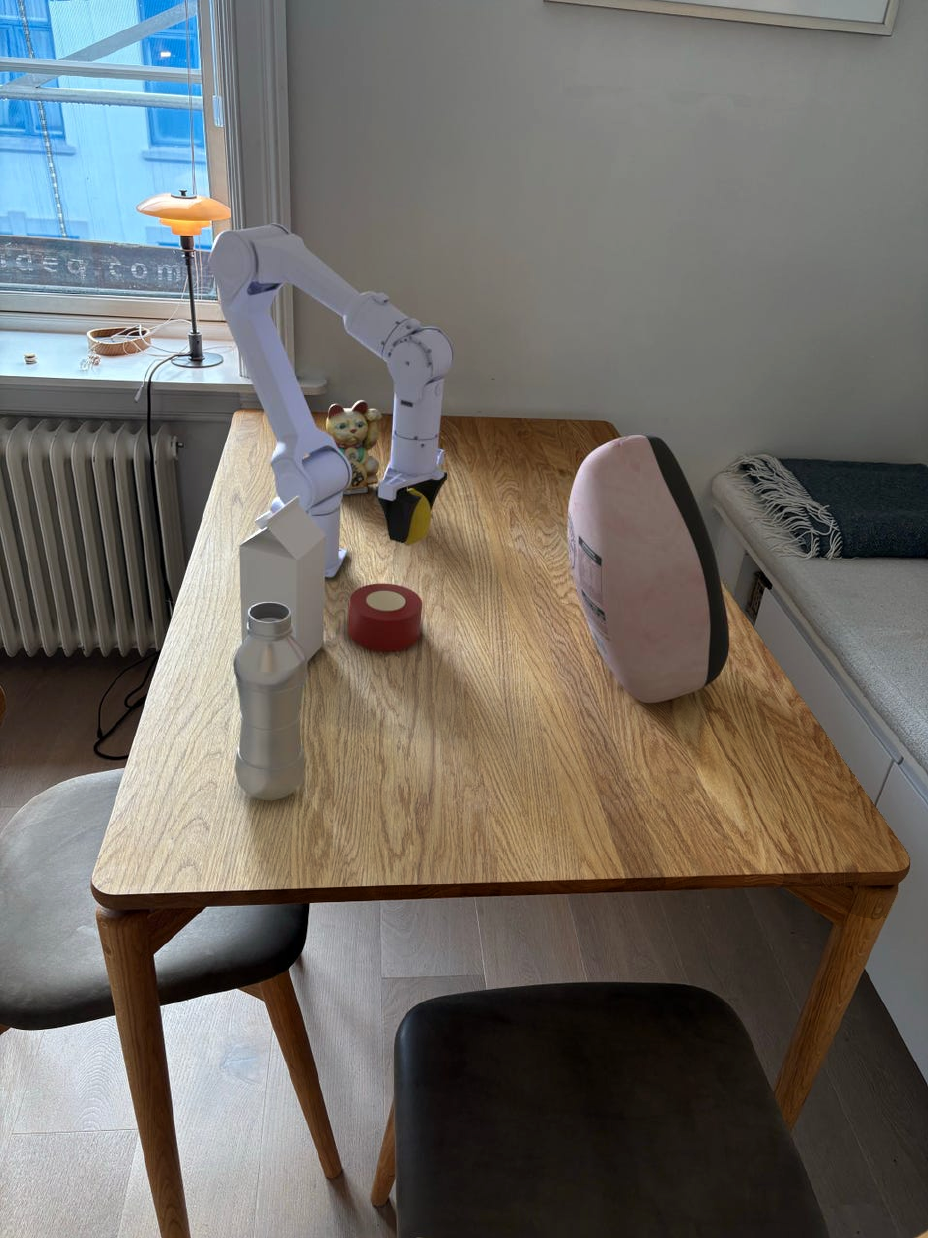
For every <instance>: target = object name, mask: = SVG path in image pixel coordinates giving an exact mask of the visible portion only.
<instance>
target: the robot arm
mask: <svg viewBox="0 0 928 1238" xmlns="http://www.w3.org/2000/svg"><path fill="white" fill-rule="evenodd" d="M207 264H208V267H209V268H210V271H211V273H212V276H213V278H214V281H215V283H216V285H217V288H218V293H219V301H220V308H221V312H222V315H223V317H224V320H225V323H226V324H227V326H228V329H229V331H230V334H231V337H232V339H233V341H234V343H235V345H236V348H237V350H238V352H239V355H240V357H241V359H242V362H243V364H244V367H245V369H246V371H247V374H248V376H249V378H250V380H251V383H252V386H253V388H254V390H255V393H256V395H257V397H258V400H259V402H260V405H261V407H262V409H263V411H264V414H265V416H266V418H267V421H268V424H269V425H270V428H271V430H272V433H273V435H274V437H275V440H276V442H277V443H276V446H275V449H274V451H273V454H272V456H271V459H270V462H269V463H270V466H271V469H272V472H273V475H274V486H275V491H276V494H277V497H275V498H274V499H273V501H272V503H271V505H270V508H269V511H271V512H272V513H273V514H274V513H275V512H276V511H278V510H279V509H280V508H281V507H283V506H284V505H285V504H287V503H288V502H289V501H291V500H292V499H293V498H295V497H296V496H299V505H300V506H301V507H302V508H303V509H304V510H305V512H306V513H307V514H308V515H309V516H310V517H311V518H312V519H313V521H314V522H315V523H316V524H317V525H318V526H319V527H320V528H321V530H322V531H323V532H324V533H325V534H326V550H325V578H330V579H331V578H332V579H333V578H334V577H335V576H336V574H337V573H338V571H339V569H340V567H341V565H342V564H343V562H344V560H345V558H346V557H347V554H348V550H347V549H343V548H340V537H341V536H340V535H341V534H340V532H341V507H342V506H341V505H342V504H341V503H342V500H343V495H344V494H343V491H344V490H345V489H346V488H347V487H348V486H349V485H350V483H351V480H352V469H351V465H350V463H349V461H348V459H347V458H346V456H345V455H344V454H343V453H342V452H341V451H340V450H339V449H338V447H337V445H336V443H335V441H334V438H333V437H332V436H331V435H329V434H328V432H327V431H326V432H325V431H324V430H322V429H320V428H318V427H317V425H316V422H315V419H314V417H313V415H312V413H311V410H310V408H309V405H308V403H307V400H306V398H305V396H304V394H303V391H302V388H301V386H300V384H299V383H300V382H299V381H298V378H297V376H296V374H295V371H294V369H293V366H292V364H291V361H290V359H289V357H288V354H287V351H286V350H285V349H286V348H285V347H284V345H283V341H282V339H281V338H280V335H279V332H278V330H277V327H276V325H275V323H274V322H275V321H274V320H273V317H272V315H271V313H270V309H271V307H272V304H273V301H274V299H275V296H276V295H277V293H278V292H279V291H280V289H281V288H282V287H283V285H284V284H291V285H293V286H295V288H297V289H300V291H302V292H304V293H305V294H307V295H309V296H310V297H311V298H313V299H315V300H316V301H318V302H319V303H321V304H322V305H324V306H325V307H327V308H328V309H329V310H331V311H332V312H334V313H336V314H337V315H339V316H340V317H342V318H343V326H344V330H345V332H346V333H347V334H348V335H350V336H351V337H352V338H354V339H355V340H356V341H357V342H359V343H360V344H361V345H363V347H366V348H367V349H368V350H370V351H371V353H373V354H374V355H376V356H377V357H379V358H380V359H381V360H383V361H384V362H385V363H386V367H387V370H388V373H389V374H390V376H391V378H392V380H393V393H394V398H393V399H394V401H393V402H394V403H393V415H392V432H391V449H390V461H389V462H388V463H387V467H386V470H385V472H384V475H383V478H382V479H381V480H380V481H378V484H377V486H375V488H374V497H375V498H376V500H377V501H378V503H379V505H380V507H381V510H382V512H383V515H384V519H385V524H386V529H387V534H388V538H389V540H390V541H393V542H397V543H400V544H404V543H405V542H406V540H407V537H408V534H409V529H410V524H411V519H412V516H413V513H414V510H415V508H416V506H417V504H418V502H419V501H420V499H421V496H417V495H413V494H410V493H409V489H411V488H412V489H414V490H415V491H418V492H420V493H421V494H423V495H424V496H425V497H426V499H427V500H428V502H429V505H430V509H431V511H433V508H434V504H435V501H436V499H437V496H438V494H439V493H440V490H441V488H442V487H443V485H444V484H445V482H446V481H447V479H448V473H447V471H445V470H444V469H440V468H439V467H440V466H442V465H443V464H444V463H445V462H444V461H445V451H446V450H445V449H443V448H442V449H441V448H439V439H440V429H441V418H442V417H441V416H442V407H443V395H444V394H443V393H444V383H445V377H444V375H445V374H447V373H448V372H450V370H451V369H452V368H453V365H454V362H455V348H454V345H453V343H452V341H451V340H450V338H449V336H448V335H447V334H446V333H445V332H444V331H443V330H442V328H440V327H437V326H426V327H424V326H423V325H421V322H420V321H419V320H418V319H416V318H415V317H414V318H410V317H409V316H408V315H407V314H405V313H403V312H402V311H401V310H400V309H398V307H396V306H394V305H393V304H392V303H390V300H391V298H390V297H389V296H388V295H387V294H386V293H384V292H383V291H382V292H378V293H376V292H375V291H365V292H362V293H360V292H359V291H358V290H357V289H355V288H354V287H353V286H352V285H351V284H350V283H348V282H347V281H346V280H345V279H344V278H343V277H341V276H340V275H339V274H338V273H337V272H335V271H334V270H333V269H332V268H331V267H329V266H328V265H327V264H326V263H325V262H323V260H321V259H320V258H319V257H317V256H316V254H314V253H313V252H311V250H309V249H308V248H307V246H306V245H305V243H304V240H303V238H302V237H301V236H299V235H297V234H296V233H292V232H291V231H290V229H288V228H287V227H286V226H284V225H283V224H280V223H276V222H275V223H273V222H272V223H269V224H266V225H263V226H257V227H256V226H255V227H249V228H243V229H237V230H236V229H235V230H234V229H226V230H223V231H221V232H220V233H219V234H218V235H216V237H215V239H214V240H213V244H212V247H211V250H210V253H209V256H208V260H207ZM307 455H308V456H307ZM305 456H307V457H305ZM407 490H408V491H407Z"/></svg>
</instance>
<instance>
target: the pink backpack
mask: <svg viewBox="0 0 928 1238" xmlns="http://www.w3.org/2000/svg"><path fill="white" fill-rule="evenodd" d="M694 495H695V494H694V493H693V491H692V489H691V486H690V483H689V482H688V480H687V478H686V476H685V473H684V471H683V469H682V467H681V465H680V463H679V461H678V459H677V458H676V456H675V454H674V453H673V451H672V449H671V448H670V447H669V445H668V444H667V443H666V442H665V441H664V440H663V439H662V438H660V437H659V436H657V435H650V434H635V435H627V436H621V437H618V438H615V439H612V440H610V441H607V442H606V443H604V444H602V445H600V446H598V447H596V448H595V449H594V450H592V451H591V452H590V453H589V454H588V455H587V456H586V457H585V458H584V459H583V461H582V462H581V464H580V466H579V469H578V471H577V473H576V475H575V478H574V481H573V485H572V488H571V493H570V497H569V501H568V509H567V527H566V528H567V548H568V549H567V550H568V558H569V565H570V569H571V573H572V574H571V575H572V578H573V581H574V584H575V589H576V591H577V595H578V598H579V600H580V604H581V607H582V610H583V614H584V616H585V619H586V622H587V625H588V627H589V631H590V633H591V636H592V638H593V641H594V643H595V646H596V648H597V650H598V651H599V654H600V656H601V657H602V659H603V661H604V662H605V664H606V666H607V667H608V669H609V670H610V671H611V673H612V674H613V676H614V677H615V678H616V680H617V681H618V682H619V684H621V686H622V687H623V689H624V690H625V691H626V692H627V693H628V694H629V695H630V696H631V697H632V698H634V699H635V700H637V701H639V702H641V703H644V704H655V703H661V702H665V701H669V700H672V699H676V698H678V697H682V696H685V695H689V694H691V693H694V692H696V691H699V690H701V689H703V688H705V687H706V686H708V685H709V684H711V683H713V682H714V681H715V680H716V679H717V678H718V677H719V676H720V675H721V673H722V671H723V670H724V668H725V665H726V663H727V661H728V656H729V651H730V629H729V622H728V621H729V620H728V615H727V613H728V612H727V609H726V608H727V607H726V602H725V597H724V596H725V595H724V591H723V585H722V581H721V576H720V571H719V565H718V561H717V557H716V553H715V549H714V546H713V542H712V539H711V538H710V534H709V532H708V529H707V526H706V524H705V521H704V518H703V516H702V512H701V511H700V508H699V505H698V503H697V500H696V498H695V496H694Z"/></svg>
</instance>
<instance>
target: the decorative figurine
mask: <svg viewBox="0 0 928 1238" xmlns="http://www.w3.org/2000/svg"><path fill="white" fill-rule="evenodd" d="M382 418H383V416H382V413H381V412H380V411H379V410H378V409H376V408H369V405H368V403H367V401H365V400H364V399H363V400H362V399H360V400H357V401H356V402H355V403H354V404H353V406H352V407H351V408H348V407H347V408H343V406H342V405H341V404H339V403H333V404H331V405H330V407H329V409H328V413H327V418H326V421H325V427H326V428H325V429H326V433H327V434H329V435H331V436H332V437H333V438H334V441H335V443H336V445H337V447H338V449H339V450H340V451H341V452H342V453H343V454H344V455H345V456H346V458H347V459H348V461H349V463H350V465H351V469H352V480H351V483H350V485H349V486H348V487H347V488H346V489H345V490H344V491H343V495H354V494H355V495H356V494H364V493H368V490H369V489H368V486H371V485H372V486H373V485H378V484H379V478H378V475H377V474H378V472H379V469H380V464H379V460H378V459H377V458H376V457H374V456H373V455H370V454H369V451H370V450H372V449H373V448H374V447H375V446H376V445H377V443H378V441H379V440H378V439H379V431H378V427H377V426H378V425H377V422H379V421H380V420H382Z"/></svg>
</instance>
